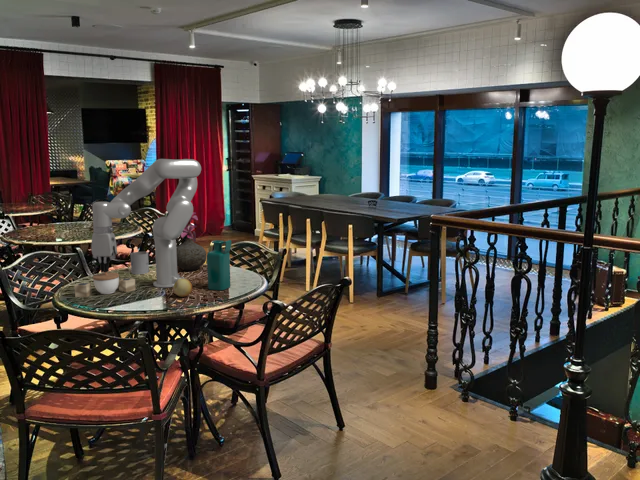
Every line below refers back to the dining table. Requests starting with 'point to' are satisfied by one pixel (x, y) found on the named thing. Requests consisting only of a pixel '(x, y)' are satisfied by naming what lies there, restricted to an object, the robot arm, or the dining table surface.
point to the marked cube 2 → (127, 284)
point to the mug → (139, 263)
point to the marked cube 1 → (83, 290)
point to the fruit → (182, 287)
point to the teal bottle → (219, 266)
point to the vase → (190, 249)
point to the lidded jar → (106, 282)
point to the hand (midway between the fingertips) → (104, 271)
